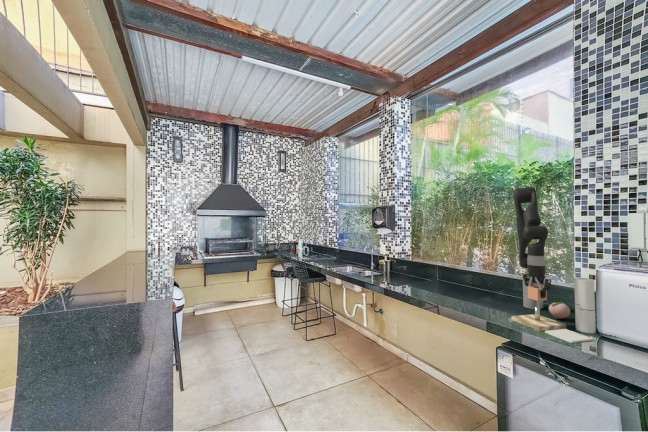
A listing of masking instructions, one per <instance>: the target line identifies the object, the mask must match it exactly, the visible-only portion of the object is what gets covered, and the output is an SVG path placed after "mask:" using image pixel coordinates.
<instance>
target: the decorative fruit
mask: <svg viewBox="0 0 648 432" xmlns="http://www.w3.org/2000/svg"><path fill="white" fill-rule="evenodd" d="M548 311H549V313H550V314H551V315H552V316H553V317H555V318H556V319H558V320H562V319H565V318H567V317H570V315H571V309H570V307H569V306H568V305H567V303H565V302H561V301H558V302H552V303H551V304H550V305H549V306H548Z"/></svg>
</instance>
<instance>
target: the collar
mask: <svg viewBox="0 0 648 432" xmlns="http://www.w3.org/2000/svg"><path fill="white" fill-rule="evenodd" d="M540 291H541V290H540V287H539V286H529V287H528V298H530V299H533V300H537V301H543V302H544V301H548V290H547V291H546V297H545V298H541V293H540Z"/></svg>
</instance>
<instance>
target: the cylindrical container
mask: <svg viewBox="0 0 648 432" xmlns="http://www.w3.org/2000/svg"><path fill="white" fill-rule="evenodd" d="M573 286H574V287H573V288H574V313H575V316H574V317H575V330H576V331H579V332H581V333H584V334H585V333H586V334H596V328H597V327H596V310H595V309H596V305H595V304H596V303H595V301H596V299H595V279H592V278H586V277H574V278H573Z"/></svg>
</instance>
